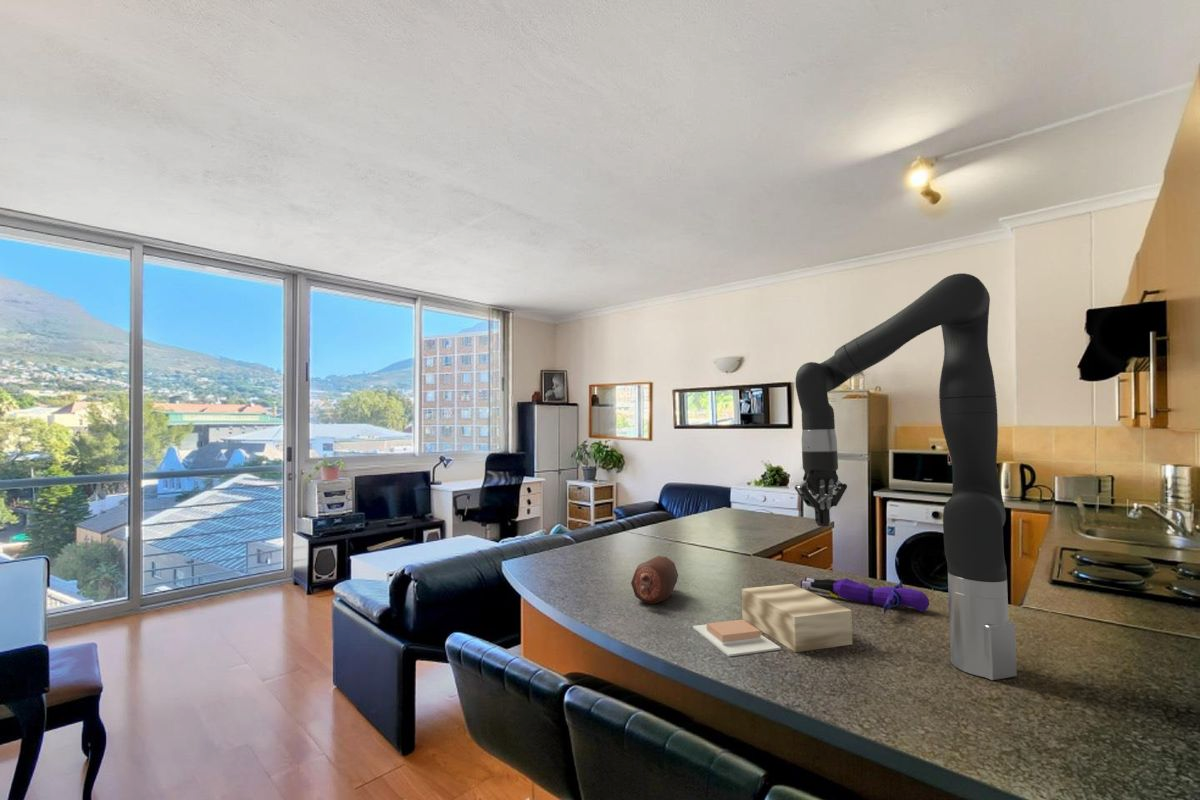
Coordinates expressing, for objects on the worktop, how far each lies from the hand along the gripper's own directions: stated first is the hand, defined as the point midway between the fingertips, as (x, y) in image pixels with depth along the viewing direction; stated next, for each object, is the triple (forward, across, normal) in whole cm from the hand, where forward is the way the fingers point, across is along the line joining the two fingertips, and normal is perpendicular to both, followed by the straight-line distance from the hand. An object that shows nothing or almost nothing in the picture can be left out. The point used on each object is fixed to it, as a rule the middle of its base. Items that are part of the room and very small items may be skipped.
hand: (822, 525), depth 121 cm
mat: (+23, -22, +2) cm, 32 cm away
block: (+23, -7, +2) cm, 24 cm away
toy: (+24, +23, +14) cm, 36 cm away
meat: (+22, -28, +32) cm, 48 cm away
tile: (+20, -23, +2) cm, 31 cm away
